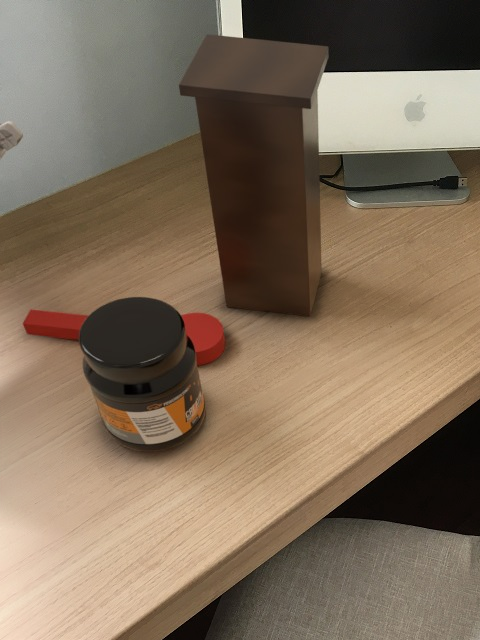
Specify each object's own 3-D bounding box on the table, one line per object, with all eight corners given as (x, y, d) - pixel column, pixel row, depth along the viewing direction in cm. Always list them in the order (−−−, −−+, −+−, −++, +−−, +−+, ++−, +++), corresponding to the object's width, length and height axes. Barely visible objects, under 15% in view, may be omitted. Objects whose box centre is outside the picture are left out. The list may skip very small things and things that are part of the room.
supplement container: (167, 471, 77) (142, 386, 68) (82, 432, 80) (46, 344, 70) (227, 403, 83) (212, 315, 73) (146, 368, 85) (121, 278, 76)
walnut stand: (215, 311, 91) (178, 84, 70) (235, 258, 97) (206, 33, 76) (317, 323, 91) (310, 98, 70) (331, 268, 97) (328, 46, 75)
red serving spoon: (20, 346, 87) (14, 332, 85) (41, 308, 90) (35, 294, 89) (218, 368, 86) (215, 355, 84) (231, 329, 90) (229, 315, 88)
